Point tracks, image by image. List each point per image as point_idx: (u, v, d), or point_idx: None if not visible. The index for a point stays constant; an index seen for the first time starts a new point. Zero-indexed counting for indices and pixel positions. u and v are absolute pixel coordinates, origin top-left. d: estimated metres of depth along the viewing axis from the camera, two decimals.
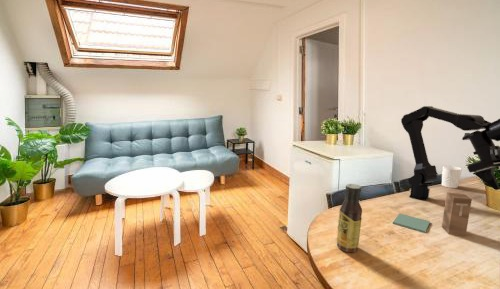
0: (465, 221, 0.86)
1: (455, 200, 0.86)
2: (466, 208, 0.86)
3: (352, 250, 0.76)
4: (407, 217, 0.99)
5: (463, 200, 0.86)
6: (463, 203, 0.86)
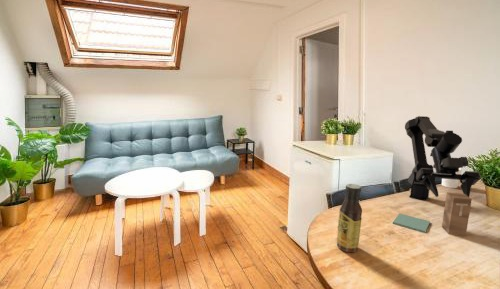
0: (465, 221, 0.86)
1: (455, 200, 0.86)
2: (466, 208, 0.86)
3: (352, 250, 0.76)
4: (407, 217, 0.99)
5: (463, 200, 0.86)
6: (463, 203, 0.86)
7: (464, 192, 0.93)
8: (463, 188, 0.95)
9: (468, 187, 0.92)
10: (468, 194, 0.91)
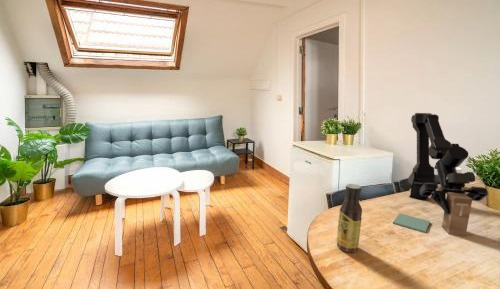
0: (465, 221, 0.86)
1: (456, 200, 0.86)
2: (466, 208, 0.86)
3: (352, 250, 0.76)
4: (407, 217, 0.99)
5: (464, 200, 0.86)
6: (463, 203, 0.86)
7: None
8: None
9: None
10: None
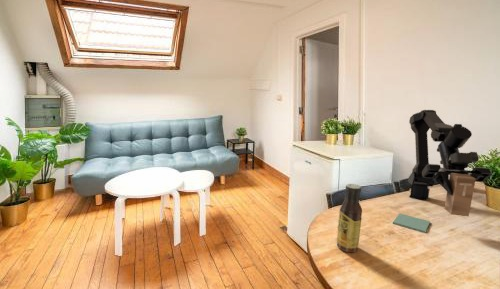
0: (468, 201, 0.85)
1: (459, 180, 0.85)
2: (470, 188, 0.85)
3: (352, 250, 0.76)
4: (407, 217, 0.99)
5: (467, 180, 0.84)
6: (467, 183, 0.85)
7: None
8: None
9: None
10: None
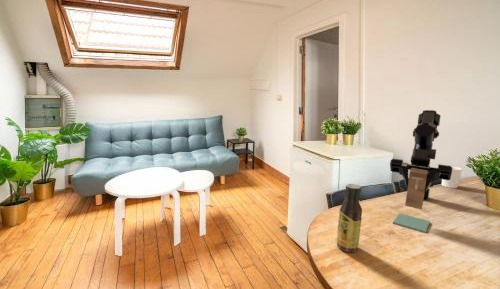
0: (421, 195, 0.91)
1: (411, 173, 0.91)
2: (422, 182, 0.90)
3: (352, 250, 0.76)
4: (407, 217, 0.99)
5: (419, 175, 0.90)
6: (419, 177, 0.90)
7: None
8: None
9: (429, 179, 0.91)
10: (426, 186, 0.91)
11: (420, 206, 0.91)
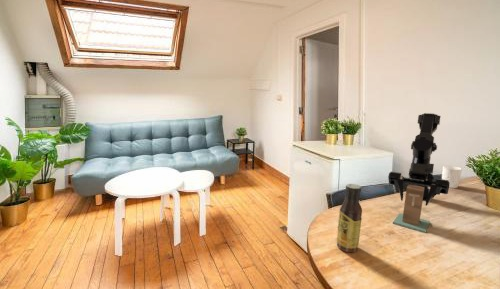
0: (417, 211, 0.92)
1: (408, 190, 0.93)
2: (418, 199, 0.91)
3: (352, 250, 0.76)
4: None
5: (415, 192, 0.92)
6: (415, 194, 0.92)
7: None
8: None
9: (430, 194, 0.92)
10: (427, 200, 0.91)
11: (417, 222, 0.93)
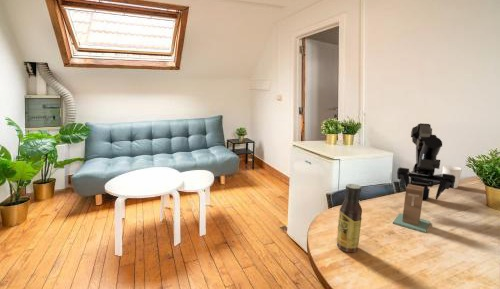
0: (417, 211, 0.92)
1: (408, 190, 0.93)
2: (418, 199, 0.91)
3: (352, 250, 0.76)
4: None
5: (415, 191, 0.92)
6: (415, 194, 0.92)
7: None
8: None
9: (439, 188, 0.97)
10: (437, 194, 0.97)
11: (417, 222, 0.93)
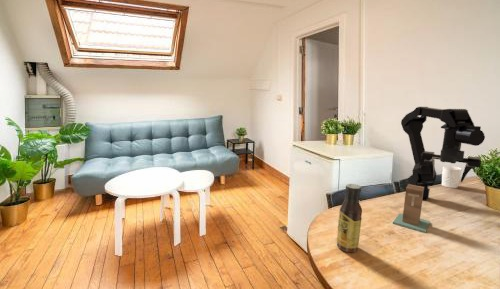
0: (417, 211, 0.92)
1: (408, 190, 0.93)
2: (418, 199, 0.91)
3: (352, 250, 0.76)
4: None
5: (415, 191, 0.92)
6: (415, 194, 0.92)
7: None
8: None
9: (464, 173, 1.00)
10: (462, 179, 1.01)
11: (417, 222, 0.93)
